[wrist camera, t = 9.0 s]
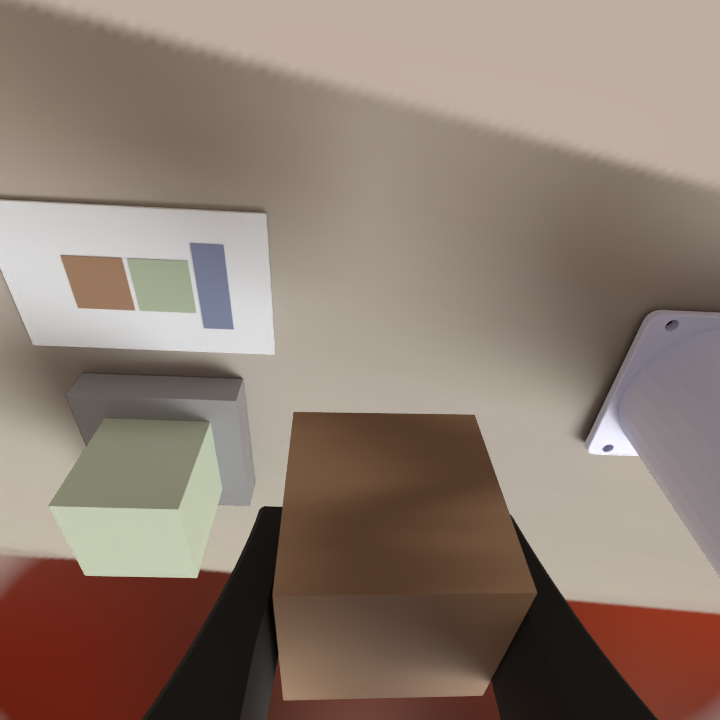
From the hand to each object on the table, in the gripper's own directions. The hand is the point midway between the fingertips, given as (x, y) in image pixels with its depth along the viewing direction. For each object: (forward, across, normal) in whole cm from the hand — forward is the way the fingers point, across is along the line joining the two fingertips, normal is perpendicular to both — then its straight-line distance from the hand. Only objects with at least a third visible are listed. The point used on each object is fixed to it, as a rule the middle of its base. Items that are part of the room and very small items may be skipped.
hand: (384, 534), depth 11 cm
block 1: (+8, +9, +6) cm, 14 cm away
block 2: (+2, 0, 0) cm, 2 cm away
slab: (+10, +9, +6) cm, 15 cm away
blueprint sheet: (+10, +9, -2) cm, 13 cm away
